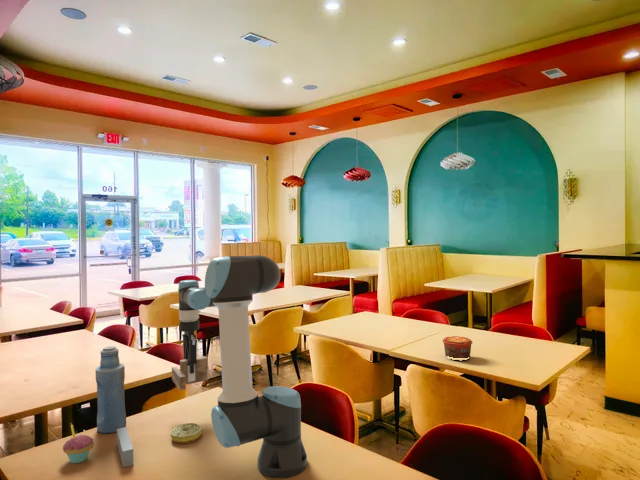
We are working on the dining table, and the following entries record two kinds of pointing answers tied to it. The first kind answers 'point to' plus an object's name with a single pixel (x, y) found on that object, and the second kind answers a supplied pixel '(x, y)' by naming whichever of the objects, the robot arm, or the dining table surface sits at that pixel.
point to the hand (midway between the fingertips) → (190, 379)
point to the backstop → (125, 447)
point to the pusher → (182, 375)
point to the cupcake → (78, 447)
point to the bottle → (110, 392)
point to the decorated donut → (186, 433)
